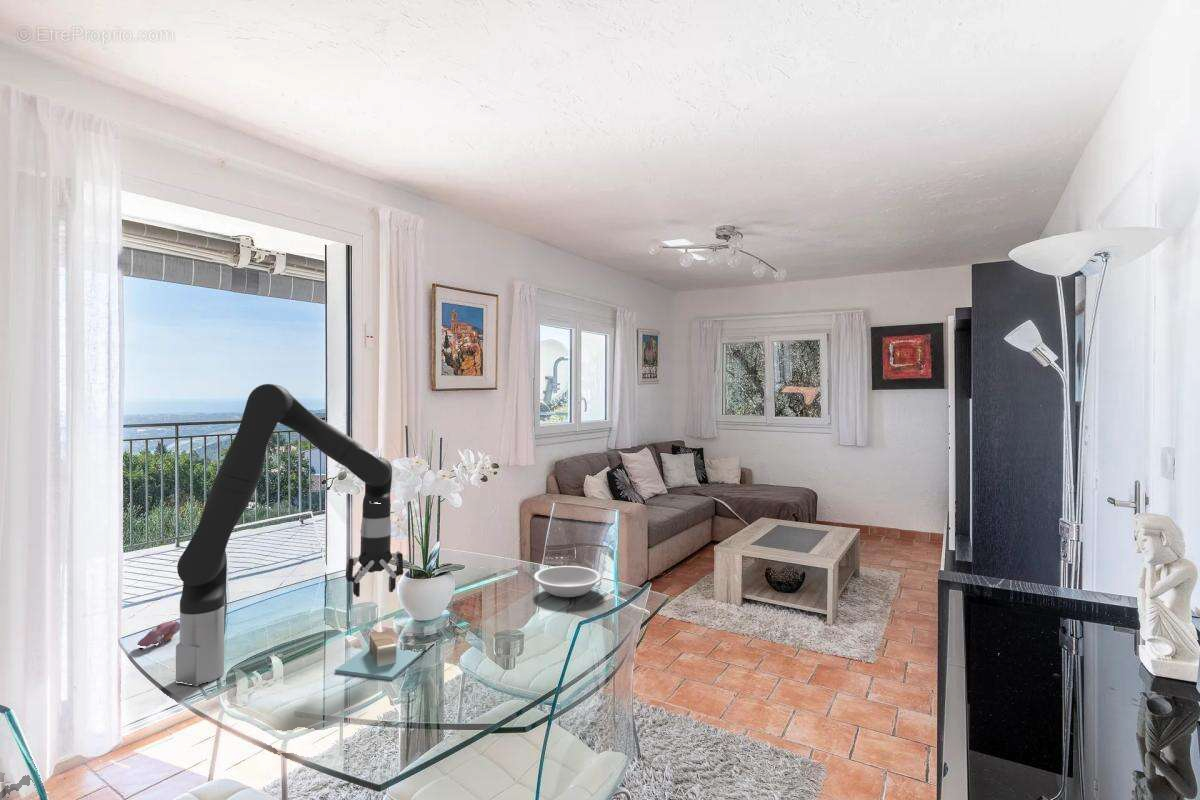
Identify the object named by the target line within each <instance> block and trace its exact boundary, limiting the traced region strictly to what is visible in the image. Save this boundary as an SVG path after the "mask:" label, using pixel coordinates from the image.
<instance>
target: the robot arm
mask: <svg viewBox="0 0 1200 800" xmlns="http://www.w3.org/2000/svg"><path fill="white" fill-rule="evenodd" d="M241 417H242V418H241V421H240V424H239V427H238V430H237V432H236V434H235V437H234V438H233V440H232V442H231V444H230V445H229V448H228V450H227V452H226V454H225V456H224V459H223V460H222V463H221V464H220V466H219V468H218V472H217V474H216V475H215V478H214V480H213V483H212V485H211V488H210V490H209V493H208V496H207V498H206V501H205V504H204V507H203V511H202V514H201V517H200V520H199V523H198V525H197V527H196V530H195V531H194V533H193V535H192V537H191V538H190V540H189V542H188V544H187V546H186V547H185V549H184V551H183V552H182V553H181V556H180V557H179V559H178V562H177V566H176V567H177V568H176V569H177V575H178V577H179V579H180V580H181V581H182V585H183V586H182V591H181V596H180V600H179V623H180V630H179V643H177V644H176V645H175V682H176V681H177V682H183V683H187V684H192V685H198V684H200V683H204V684H206V682H208V683H210V682H213V681H215V680H217V679H219V678H221V677H222V676H223V675H224V673H225V597H226V593H227V592H226V591H227V574H228V573H227V571H228V570H227V567H228V565H227V563H228V562H227V561H228V560H227V559H228V558H227V552H226V549H227V546H228V543H229V539H230V537H231V534H232V532H233V530H234V529H235V527H236V526H237V524H238V522H239V521H240V519H241V517H242V516H243V514H244V512H245V511H246V509H247V507H248V506H249V503H250V502H251V500H252V499H253V495H254V494H255V491H256V489H257V486H258V484H259V481H260V479H261V476H262V474H263V471H264V470H263V469H264V465H265V459H266V453H267V447H268V445H269V442H270V439H271V437H272V435H273V432H274V431H275V429H276V427H277V425H278V423H279V424H281V425H283V426H285V427H287V428H290V429H291V430H292V431H295V432H296V433H298V434H299V435H300V436H301V437H303V438H305V439H306V440H307V441H308V442H309V443H310V444H312V445H313V446H314V447H315V448H317V449H318V450H319V451H320V452H322V453H323V454H324V455H326V456H327V457H328V458H330V459H331V460H334V461H335V462H337V463H338V464H339V465H341V466H343V467H345V468H347V469H348V470H349V472H350V473H352V474H353V475H355V476H356V477H357V478H358V479H360V480H361V481H362V482H363V483H364V497H363V500H362V518H361V524H360V525H361V526H360V532H359V533H360V549H359V550H360V551H359V553H360V554H359V556H357V557H352V556H348V557H347V558H346V569H345V579H346V581H347V582H351V583H352V593H353V595H354V596H355V598H357V597H358V598H359V597H360V594H361V593H360V592H361V590H360V589H361V588H360V587H361V582H360V581H361V580H362V579H363V577H365V576H366V574H367V573H374V572H383V570H386V572H387V573H388V574H389V576H388V592H389V593H393V592H394V590H395V589H396V583H397V581H396V579H397V577H398V576H402V575H404V559H403V558H404V557H403V553H402V552H401V551H399V550H398V551H396V552H391V544H392V543H391V541H392V539H391V538H392V534H391V533H392V520H391V492H392V490H391V489H392V480H393V467H392V464H391V462H390V461H389V460H388V459H386V458H384V457H379V456H378V457H377V456H375V455H373V454H372V453H371V452H369V451H367V450H366V449H365V447H364V446H363V445H362V444H361V443H359V442H358V441H356V440H355V439H353V438H352V437H350V436H349V435H347V434H346V433H344V432H343V431H341V430H339V429H338V428H337V427H335V426H333V425H332V424H329V423H328V422H327V421H325V420H323V419H322V418H320V417H318V416H317V415H316V414H314V413H313V412H312V411H311V410H309V409H308V408H307V407H306V406H304V405H303V404H302V403H301V402H300V401H299V400H298V399H297V398H296V397H294V395H292V394H291V392H290V391H289V390H288V389H287V388H285V387H283V386H281V385H278V384H274V383H273V384H272V383H264V384H260V385H258V386H257V387H255V388H254V389H252V391H251V392H250V393H249V396H248V397H247V400H246V404H245V406H244V410H243V414H242V416H241ZM369 501H371V503H374V502H378V503H381V504H370V503H369ZM392 559H393V560H394V561H395V562H396V563H395V567H396V569H394V570H393V569H392V568H391V567H390V566H389V563H390V561H391V560H392ZM357 563H359V564H360V566H359V568H358V570H357V571H356V572H355V574H354V575H353V573H354V572H353V571H354V567H355V566H356V565H357Z"/></svg>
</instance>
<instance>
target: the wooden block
mask: <svg viewBox="0 0 1200 800" xmlns="http://www.w3.org/2000/svg"><path fill="white" fill-rule="evenodd" d="M391 636H392V635H390V633H389V632H388V631H387V630H384V631H379V632H374V633H369V645H368V646H369V651H370V653H371V654H372V656H373V658H374V660H375V662H376V663H377V665H378V667H379V666H384V665H388V664H393V663H396V644H395V643H394V641H393V640H392V638H391Z"/></svg>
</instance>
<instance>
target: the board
mask: <svg viewBox="0 0 1200 800" xmlns="http://www.w3.org/2000/svg"><path fill="white" fill-rule="evenodd" d="M422 652H423V651H422ZM422 652H420V651H419V652H418V653H417V652H414V651H411V650H405V651H403V650H400V648H398V647H396V663H393V664H388V665H384V666H379V667H378V665H377V663H376V662H375V660H374V658H373V656H372V654H371V653H370V651H369V645H368V646H366V648H364V649H363V650H362V651H360V652H358V653H356V654H355V655H354V656H352V657H351V658H350V659H348V660H346V661H345V662H344V663H342V664H341V665H339V666H338V667H337V668H335V670H334V673H335V674H343V675H351V676H356V677H357V676H359V677H365V678H366V677H367V678H374V679H380V680H388V681H393V680H394V679H395V678H397V677H398V676H399V675H401V674H402V672H403V671H405V670H406V669H407V668H409V667H410V666H411V665H412V664H413V663H414V662H415V661H416V660H415V659H416V658H417V657H418V656H419V655H420V654H421V653H422ZM414 660H415V661H414ZM413 661H414V662H413ZM412 662H413V663H412ZM411 663H412V664H411ZM410 664H411V665H410ZM409 665H410V666H409Z"/></svg>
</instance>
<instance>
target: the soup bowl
mask: <svg viewBox="0 0 1200 800" xmlns="http://www.w3.org/2000/svg"><path fill="white" fill-rule="evenodd" d="M602 577H603V576H602V574H601V572H599V571H598V570H595V569H593V568H589V567H585V566H581V565H557V566H550V567H546V568H545V567H544V568H542V569H540V570H538V571H536V572H535V573H534V575H533V579H534V581H535V582H537V583H538V584H539V585H540V587H541V588H542V589H543V590H544V591H545V592H547V594H549V595H553V596H555V597H560V598H574V597H575V598H576V597H580V596H583V595H585V594H587V593H589V592H591V591H592V589H593V588H594V587H595V586H596V585H597V583H599V582H600V581H601V580H602Z"/></svg>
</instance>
